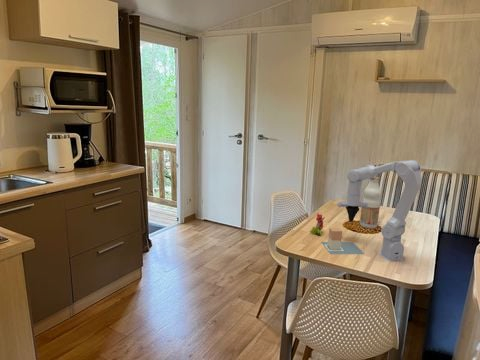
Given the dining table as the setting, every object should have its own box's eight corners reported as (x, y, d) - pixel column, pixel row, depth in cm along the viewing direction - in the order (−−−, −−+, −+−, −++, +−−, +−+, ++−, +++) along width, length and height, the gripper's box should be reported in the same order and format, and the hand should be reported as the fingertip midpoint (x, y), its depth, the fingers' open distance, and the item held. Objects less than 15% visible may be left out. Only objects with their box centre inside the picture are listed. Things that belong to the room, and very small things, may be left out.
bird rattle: (312, 235, 189) (308, 233, 181) (316, 214, 191) (312, 212, 183) (324, 237, 187) (320, 236, 179) (328, 216, 188) (325, 214, 180)
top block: (341, 240, 164) (342, 231, 163) (331, 240, 164) (332, 231, 163) (337, 236, 169) (338, 227, 168) (328, 236, 168) (329, 227, 167)
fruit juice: (358, 227, 199) (364, 177, 193) (360, 222, 207) (366, 174, 201) (376, 230, 195) (383, 179, 189) (377, 225, 204) (383, 176, 198)
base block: (340, 249, 165) (341, 240, 164) (330, 249, 165) (331, 240, 164) (336, 245, 170) (337, 236, 169) (327, 245, 169) (328, 236, 168)
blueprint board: (364, 255, 162) (365, 254, 161) (330, 255, 160) (330, 253, 160) (352, 243, 175) (353, 241, 175) (320, 243, 174) (321, 241, 174)
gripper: (364, 192, 177) (361, 218, 180) (336, 191, 176) (333, 218, 179) (371, 196, 170) (367, 223, 173) (341, 195, 169) (338, 222, 172)
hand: (350, 220), depth 176 cm, fingers closed
